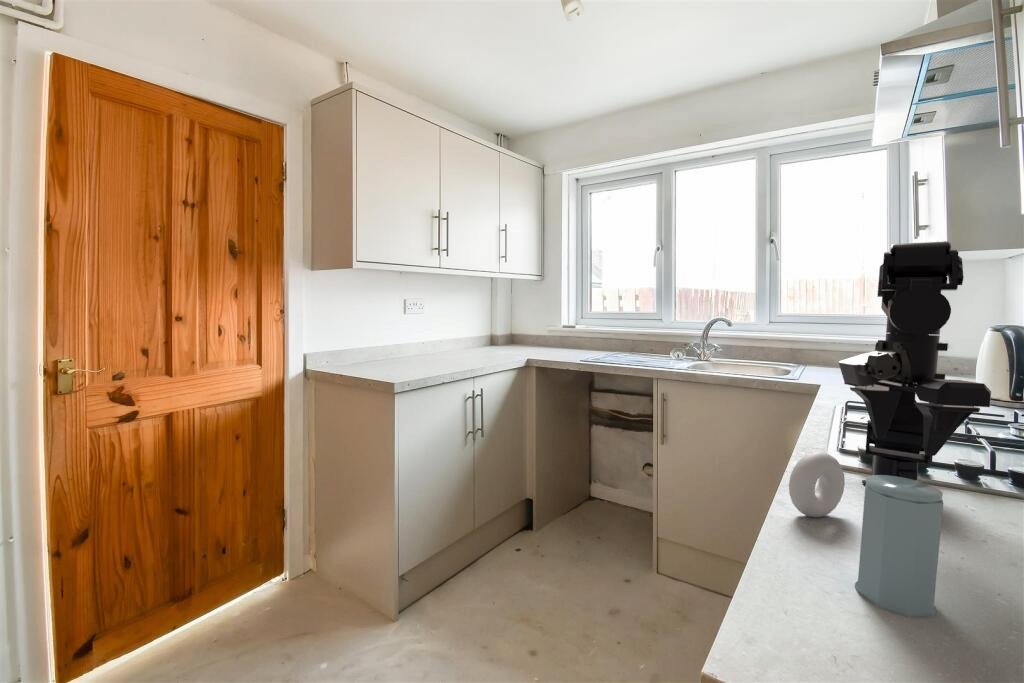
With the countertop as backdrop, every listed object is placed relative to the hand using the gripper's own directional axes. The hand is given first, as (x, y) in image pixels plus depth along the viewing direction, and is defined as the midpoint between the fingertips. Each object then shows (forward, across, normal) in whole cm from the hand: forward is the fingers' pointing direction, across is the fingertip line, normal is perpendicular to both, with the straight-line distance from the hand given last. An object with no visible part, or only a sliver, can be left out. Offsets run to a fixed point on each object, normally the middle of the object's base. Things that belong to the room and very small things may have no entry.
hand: (903, 445), depth 67 cm
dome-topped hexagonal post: (+13, +16, -11) cm, 23 cm away
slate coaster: (+14, +16, -11) cm, 24 cm away
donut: (+13, -5, -8) cm, 16 cm away
